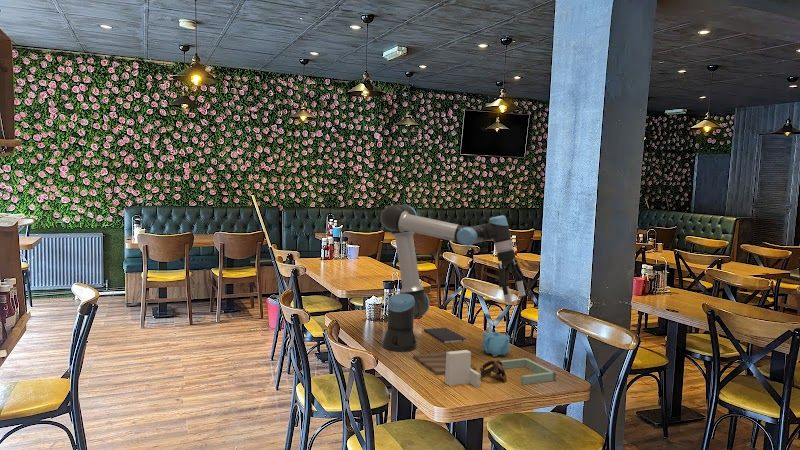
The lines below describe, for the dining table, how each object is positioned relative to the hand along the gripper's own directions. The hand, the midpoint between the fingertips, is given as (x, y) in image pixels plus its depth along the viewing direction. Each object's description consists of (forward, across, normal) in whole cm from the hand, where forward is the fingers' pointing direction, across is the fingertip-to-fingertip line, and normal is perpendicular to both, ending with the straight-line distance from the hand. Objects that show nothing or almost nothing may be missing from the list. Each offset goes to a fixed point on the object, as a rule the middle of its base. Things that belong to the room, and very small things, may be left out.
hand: (515, 298), depth 244 cm
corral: (+28, -18, -5) cm, 33 cm away
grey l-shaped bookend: (+23, -44, +9) cm, 50 cm away
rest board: (+19, -29, +24) cm, 42 cm away
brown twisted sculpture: (+26, -30, +1) cm, 40 cm away
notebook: (+15, +7, +46) cm, 49 cm away
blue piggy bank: (+24, -1, +15) cm, 28 cm away
